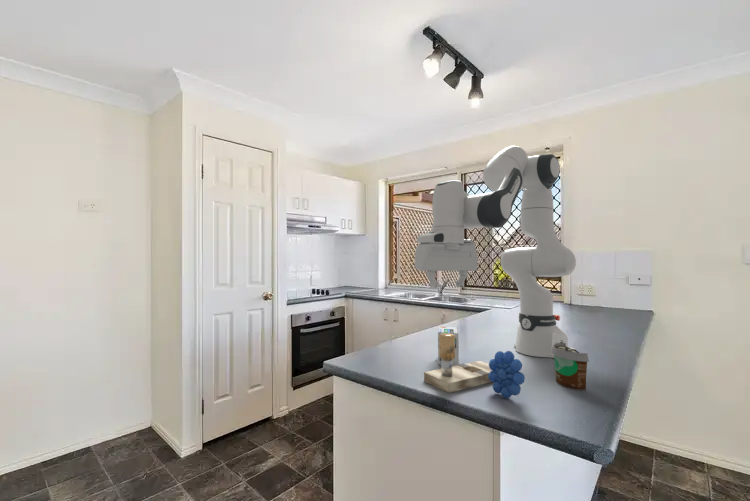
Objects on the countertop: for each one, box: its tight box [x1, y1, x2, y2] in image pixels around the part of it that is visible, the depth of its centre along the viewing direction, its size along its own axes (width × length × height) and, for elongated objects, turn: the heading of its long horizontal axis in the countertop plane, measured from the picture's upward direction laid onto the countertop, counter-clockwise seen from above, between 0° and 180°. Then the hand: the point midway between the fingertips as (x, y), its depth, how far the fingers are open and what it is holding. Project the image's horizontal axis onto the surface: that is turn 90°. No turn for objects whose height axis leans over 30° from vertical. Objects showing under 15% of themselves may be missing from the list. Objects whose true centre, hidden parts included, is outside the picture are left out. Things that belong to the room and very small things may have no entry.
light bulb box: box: [437, 325, 460, 366], centre depth 118 cm, size 11×7×11 cm, turn 168°
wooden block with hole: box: [423, 360, 493, 394], centre depth 100 cm, size 22×10×3 cm, turn 120°
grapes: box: [488, 350, 526, 399], centre depth 88 cm, size 12×7×12 cm, turn 22°
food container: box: [551, 343, 589, 391], centre depth 98 cm, size 12×6×10 cm, turn 178°
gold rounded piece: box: [439, 333, 455, 377], centre depth 97 cm, size 4×4×11 cm
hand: (447, 287), depth 97 cm, fingers open, 8 cm apart
